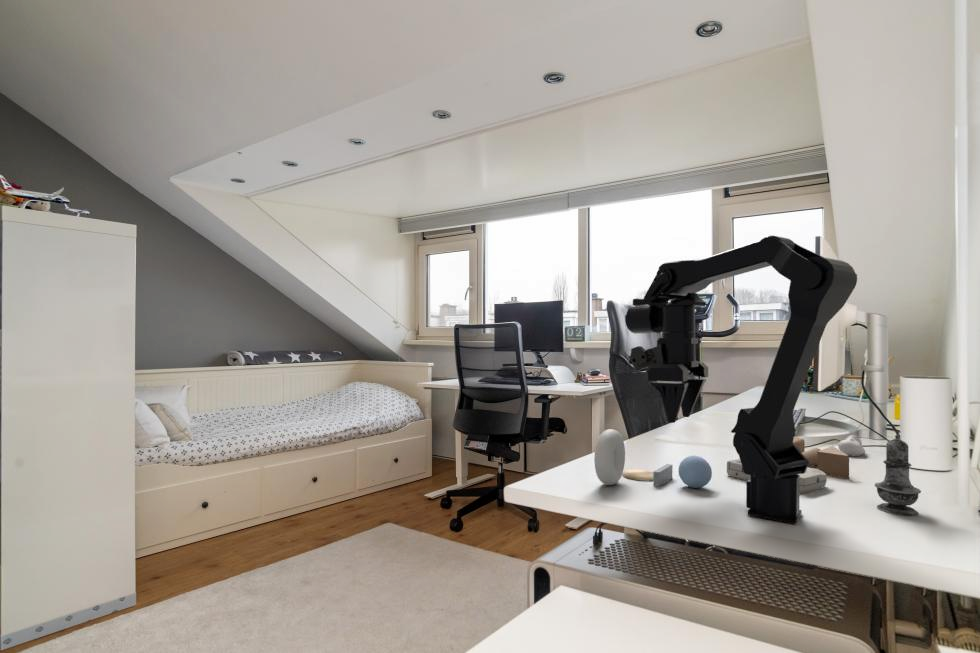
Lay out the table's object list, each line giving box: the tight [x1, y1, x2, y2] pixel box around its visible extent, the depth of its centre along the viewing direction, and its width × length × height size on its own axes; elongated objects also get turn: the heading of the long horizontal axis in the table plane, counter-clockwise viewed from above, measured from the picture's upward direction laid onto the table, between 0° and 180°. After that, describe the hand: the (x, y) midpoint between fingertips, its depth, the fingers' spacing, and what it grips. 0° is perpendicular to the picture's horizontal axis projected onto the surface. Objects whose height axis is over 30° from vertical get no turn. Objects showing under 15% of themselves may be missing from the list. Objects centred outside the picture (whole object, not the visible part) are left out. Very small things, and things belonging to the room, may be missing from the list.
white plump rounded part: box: [594, 428, 626, 486], centre depth 98 cm, size 10×3×10 cm, turn 149°
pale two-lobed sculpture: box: [837, 434, 866, 457], centre depth 128 cm, size 4×8×5 cm
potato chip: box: [622, 469, 654, 482], centre depth 104 cm, size 7×7×1 cm
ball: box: [678, 455, 713, 489], centre depth 97 cm, size 6×6×6 cm
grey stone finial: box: [874, 433, 922, 517], centre depth 86 cm, size 6×6×12 cm
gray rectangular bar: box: [652, 463, 673, 487], centre depth 101 cm, size 1×8×2 cm, turn 143°
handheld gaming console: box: [726, 458, 828, 495], centre depth 102 cm, size 9×4×15 cm
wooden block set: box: [793, 436, 850, 480], centre depth 116 cm, size 17×6×18 cm
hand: (679, 419), depth 97 cm, fingers open, 9 cm apart
